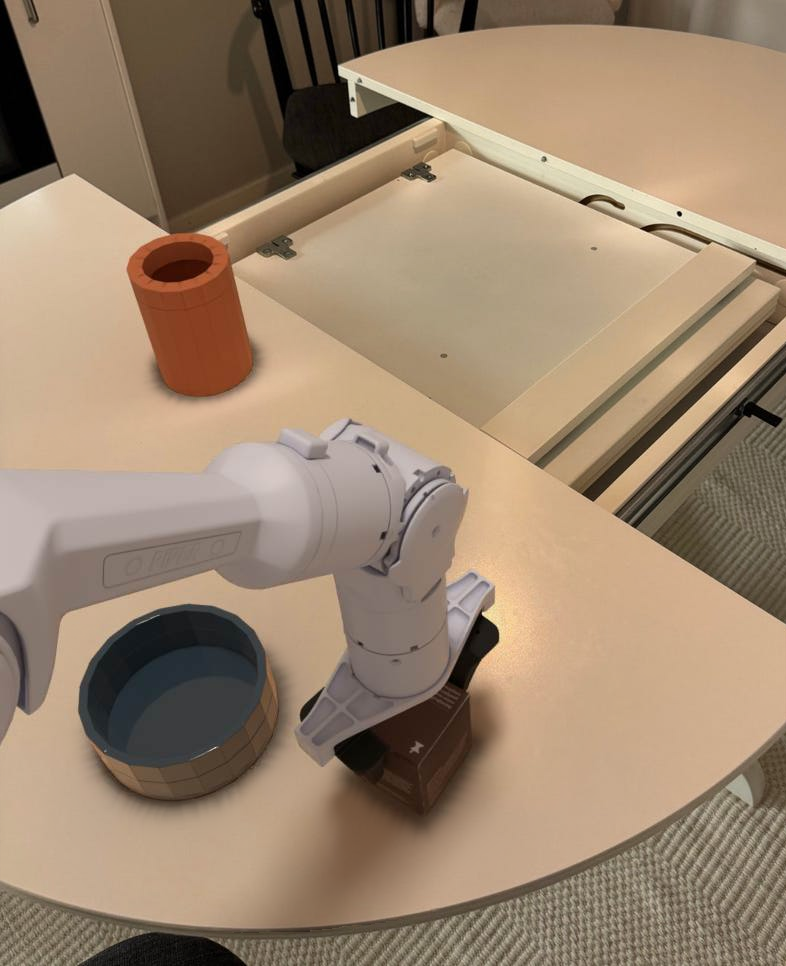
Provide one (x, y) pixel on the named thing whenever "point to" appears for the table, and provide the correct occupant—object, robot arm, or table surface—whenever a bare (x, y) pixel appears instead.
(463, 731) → the box
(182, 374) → the jar
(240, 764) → the bowl
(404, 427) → the table surface
